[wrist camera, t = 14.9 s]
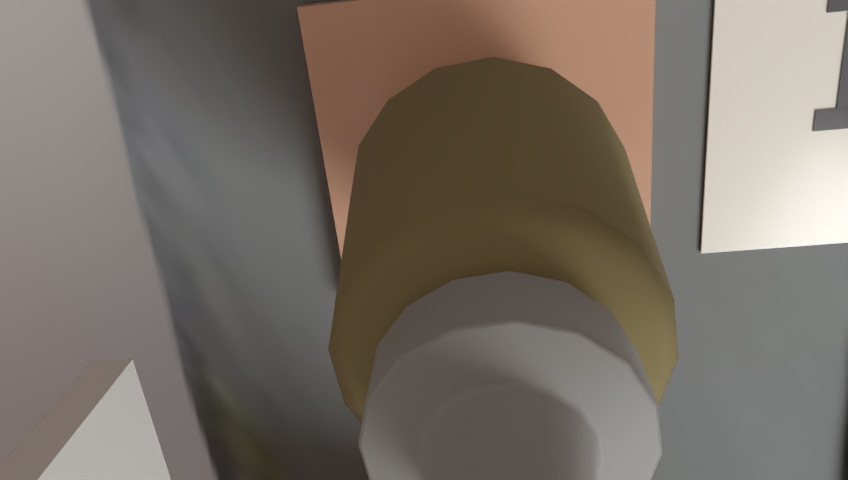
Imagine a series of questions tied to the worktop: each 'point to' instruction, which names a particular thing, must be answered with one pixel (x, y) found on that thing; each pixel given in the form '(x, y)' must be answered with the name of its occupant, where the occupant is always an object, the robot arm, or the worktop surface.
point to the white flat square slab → (777, 126)
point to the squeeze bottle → (501, 286)
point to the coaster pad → (467, 41)
